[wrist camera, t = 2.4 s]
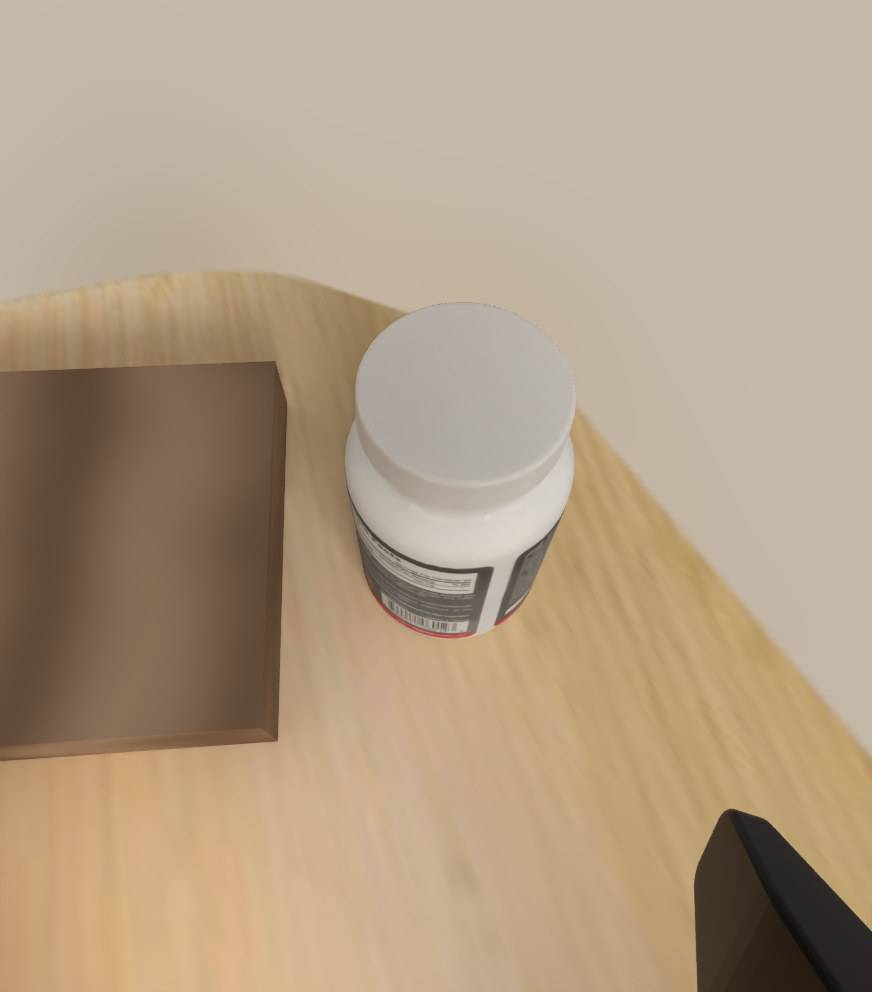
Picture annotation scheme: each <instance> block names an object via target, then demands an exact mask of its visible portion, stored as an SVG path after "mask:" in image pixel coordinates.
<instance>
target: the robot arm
mask: <svg viewBox="0 0 872 992" xmlns="http://www.w3.org/2000/svg"><path fill="white" fill-rule="evenodd" d="M694 903H695V932H696V962H697V992H872V931H871V930H870V929H869V928H868V927H867V926H866V925H865V924H864V923H863V922H862V921H861V920H860V918H859V917H858V916H857V915H856V914H855V913H854V912H853V911H852V910H851V909H850V908H849V907H848V906H847V905H846V904H845V902H844V901H843V900H842V899H841V898H840V897H839V896H838V895H837V894H836V893H835V892H834V891H833V890H832V889H831V888H830V887H829V885H828V884H827V883H826V882H825V881H824V880H823V879H822V878H821V877H820V876H819V875H818V874H817V873H816V872H815V871H814V869H813V868H812V867H811V866H810V865H809V864H808V863H807V862H806V861H805V860H804V859H803V858H802V857H801V856H800V855H799V853H798V852H797V851H796V850H795V849H794V848H793V847H792V846H791V845H790V844H789V843H788V842H787V841H786V840H785V839H784V838H783V836H782V835H781V834H780V833H779V832H778V831H777V830H776V829H775V828H774V827H773V826H772V825H771V824H770V823H769V822H768V821H767V820H765V819H763V818H760V817H757V816H754V815H751V814H748V813H745V812H741V811H738V810H735V809H729V810H726V811H724V812H723V814H722V815H721V816H720V818H719V820H718V822H717V824H716V826H715V828H714V830H713V833H712V835H711V837H710V839H709V841H708V843H707V846H706V848H705V850H704V852H703V854H702V856H701V859H700V861H699V863H698V866H697V869H696V874H695V880H694Z"/></svg>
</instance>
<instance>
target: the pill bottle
mask: <svg viewBox="0 0 872 992" xmlns="http://www.w3.org/2000/svg"><path fill="white" fill-rule="evenodd" d="M575 407H576V390H575V384H574V380H573V375H572V372H571V369H570V367H569V365H568V362H567V360H566V359H565V357H564V355H563V353H562V352H561V350H560V349H559V347H558V346H557V345H556V344H555V343H554V341H553V340H552V339H551V338H550V337H549V336H548V335H547V334H546V333H545V332H543V331H542V330H541V329H540V328H538V327H537V326H536V325H534V324H533V323H531V322H530V321H528V320H526V319H524V318H523V317H521V316H519V315H518V314H515V313H512V312H510V311H507V310H504V309H501V308H498V307H495V306H490V305H486V304H479V303H470V302H456V303H444V304H437V305H432V306H428V307H425V308H421V309H419V310H416V311H413V312H411V313H409V314H407V315H405V316H403V317H401V318H399V319H397V320H396V321H395V322H393V323H392V324H390V325H389V326H388V327H387V328H385V329H384V330H383V331H382V332H381V333H380V334H379V335H378V336H377V337H376V338H375V339H374V340H373V342H372V343H371V344H370V346H369V347H368V349H367V351H366V352H365V354H364V356H363V358H362V360H361V363H360V366H359V368H358V372H357V376H356V381H355V416H356V417H355V419H354V422H353V424H352V426H351V429H350V432H349V435H348V439H347V443H346V449H345V474H346V482H347V488H348V493H349V497H350V502H351V507H352V512H353V517H354V522H355V527H356V532H357V537H358V542H359V547H360V552H361V557H362V562H363V568H364V572H365V576H366V579H367V582H368V585H369V587H370V589H371V592H372V593H373V595H374V597H375V599H376V600H377V602H378V603H379V605H380V606H381V607H382V608H383V609H384V610H385V612H386V613H387V614H388V615H389V616H391V617H392V618H393V619H394V620H395V621H397V622H398V623H399V624H401V625H402V626H404V627H406V628H407V629H409V630H411V631H414V632H416V633H418V634H421V635H424V636H427V637H431V638H437V639H464V638H469V637H473V636H477V635H480V634H483V633H485V632H488V631H490V630H492V629H494V628H495V627H497V626H499V625H500V624H502V623H503V622H504V621H506V620H507V619H508V618H509V617H511V616H512V615H513V614H514V613H515V611H516V610H517V609H518V608H519V607H520V605H521V604H522V603H523V601H524V600H525V598H526V596H527V595H528V593H529V591H530V589H531V587H532V585H533V582H534V580H535V577H536V575H537V573H538V570H539V568H540V566H541V563H542V561H543V558H544V556H545V554H546V551H547V549H548V547H549V544H550V542H551V540H552V537H553V535H554V533H555V530H556V528H557V526H558V523H559V521H560V519H561V516H562V514H563V512H564V510H565V507H566V504H567V501H568V498H569V495H570V491H571V488H572V483H573V478H574V465H575V464H574V451H573V445H572V441H571V437H570V434H569V431H570V428H571V425H572V422H573V419H574V414H575Z"/></svg>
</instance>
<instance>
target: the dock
mask: <svg viewBox="0 0 872 992" xmlns="http://www.w3.org/2000/svg"><path fill="white" fill-rule="evenodd" d="M286 419H287V402H286V398H285V395H284V391H283V387H282V384H281V380H280V377H279V373H278V370H277V366H276V363H275V361H272V362H247V363H222V364H197V365H172V366H147V367H122V368H97V369H72V370H47V371H22V372H0V761H6V760H20V759H34V758H48V757H62V756H76V755H91V754H105V753H119V752H133V751H147V750H161V749H175V748H189V747H203V746H217V745H231V744H245V743H259V742H273V741H278V711H279V675H280V638H281V602H282V565H283V529H284V492H285V456H286Z"/></svg>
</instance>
